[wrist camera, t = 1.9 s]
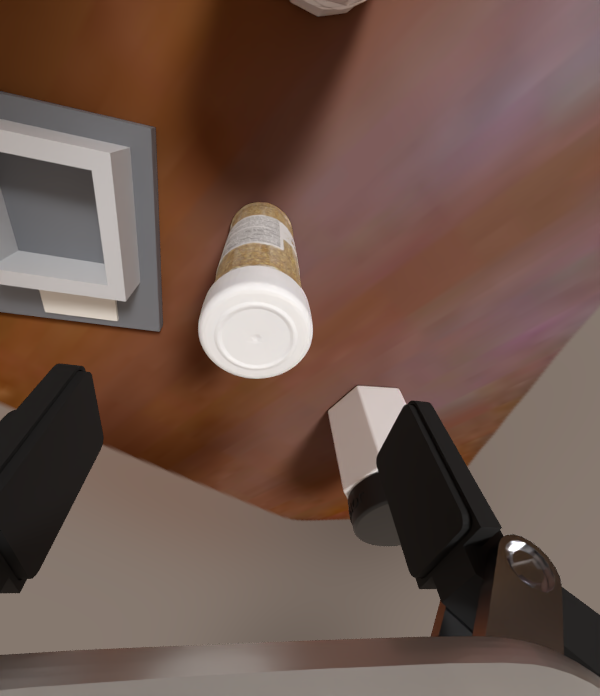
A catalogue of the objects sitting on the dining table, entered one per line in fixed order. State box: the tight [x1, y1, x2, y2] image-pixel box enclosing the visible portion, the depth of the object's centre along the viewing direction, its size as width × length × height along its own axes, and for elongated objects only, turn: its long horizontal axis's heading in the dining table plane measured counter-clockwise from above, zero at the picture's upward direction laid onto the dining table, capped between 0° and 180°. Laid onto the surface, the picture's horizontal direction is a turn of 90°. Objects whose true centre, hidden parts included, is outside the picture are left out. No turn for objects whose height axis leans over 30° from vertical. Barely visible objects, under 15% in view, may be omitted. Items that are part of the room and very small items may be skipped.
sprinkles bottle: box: [198, 202, 313, 379], centre depth 18 cm, size 5×5×13 cm
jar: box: [328, 386, 406, 546], centre depth 31 cm, size 9×8×12 cm
